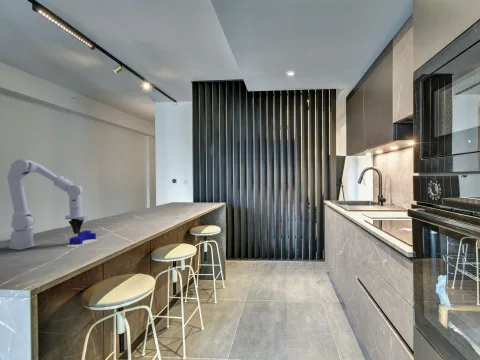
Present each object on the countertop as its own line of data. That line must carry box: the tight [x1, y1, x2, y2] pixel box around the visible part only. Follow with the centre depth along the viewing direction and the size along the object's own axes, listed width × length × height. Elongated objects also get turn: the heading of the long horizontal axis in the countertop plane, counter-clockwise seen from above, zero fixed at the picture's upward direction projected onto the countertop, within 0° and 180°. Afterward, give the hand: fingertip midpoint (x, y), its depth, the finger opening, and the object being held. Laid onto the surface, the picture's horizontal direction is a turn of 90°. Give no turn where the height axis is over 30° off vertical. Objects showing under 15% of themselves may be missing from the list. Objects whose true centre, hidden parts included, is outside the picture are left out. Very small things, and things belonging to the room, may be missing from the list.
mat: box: [65, 239, 99, 248], centre depth 135 cm, size 6×14×1 cm, turn 158°
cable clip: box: [69, 229, 97, 245], centre depth 138 cm, size 12×4×6 cm
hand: (76, 233), depth 136 cm, fingers closed
